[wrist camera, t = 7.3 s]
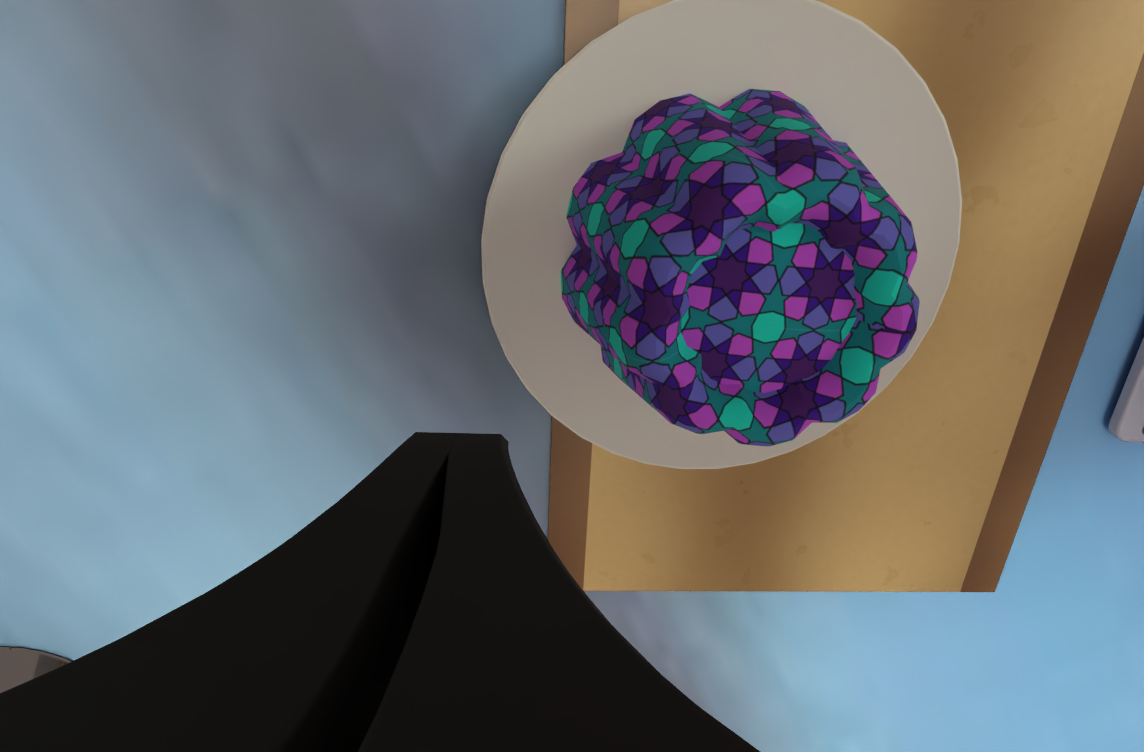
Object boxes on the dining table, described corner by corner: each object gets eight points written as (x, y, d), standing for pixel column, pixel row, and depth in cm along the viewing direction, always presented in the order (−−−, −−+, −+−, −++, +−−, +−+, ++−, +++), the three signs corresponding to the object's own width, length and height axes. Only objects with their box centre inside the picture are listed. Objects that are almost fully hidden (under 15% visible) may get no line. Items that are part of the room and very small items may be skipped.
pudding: (871, 468, 21) (972, 587, 16) (472, 442, 20) (451, 559, 15) (1014, 26, 16) (1219, 5, 11) (497, -39, 15) (478, -94, 10)
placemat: (1297, -250, 14) (1303, -252, 14) (992, 589, 23) (994, 592, 23) (576, -306, 13) (576, -309, 13) (546, 588, 22) (545, 591, 22)
